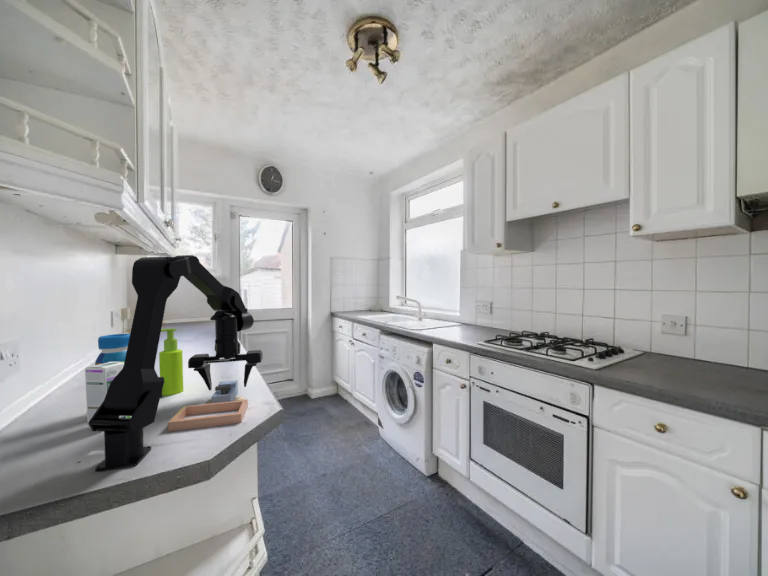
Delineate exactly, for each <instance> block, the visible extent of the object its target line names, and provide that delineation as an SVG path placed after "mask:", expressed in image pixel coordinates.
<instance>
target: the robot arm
mask: <svg viewBox="0 0 768 576" xmlns="http://www.w3.org/2000/svg"><path fill="white" fill-rule="evenodd" d="M181 277H183V278H185V279H186V280H187V281H188V282H189V283H190V284H191V285H193V286H194V287H195V288H197V290H199V291H200V292H201V293H202V294H203V295H204V296H205V297H206V303H207V304H208V305H209V307H210V308H211V309H212V311H215V313H214V314H213V315H212V316H211V317H210V319H209V320H210V321H214V327H215V328H214V332H215V340H214V351H215V355H214V356H212V355H211V356H210V355H209V354H210V353H196V354H193V355H192V356H191V357H190V358H188V362H187V367H188V369H193V372H197V373H198V374H199V375H200V377H201V378H202V380H203V381H204V383H205V385H206V387H207V389H208V391H212V386H213V383H212V375H211V364H217V363H231V362H241V361H242V362H243V361H244V362H245V363H246V364H244V373H243V376H244V377H243V387H244V388H246V387H247V384H248V381H249V377H250V375H251V372H252V369H253V367H257V365H258V364H260V363H262V360H263V359H264V358H263V355H264V354H263V351H262V350H261V349H257V350H256V349H255V350H253V349H252V350H248V351H246V353H241V342H239V339H238V338H239V337H238V336H239V335H238V333H239V332H242V331H246V330H248V329H251V328H252V327H253V325H254V321H255V320H254V317H253V315H252V314H251V313H250V312H248V308H246V305H245V303H244V301H243V299H242V297H241V295H240V293H239V292H238V291H237V290H235V289H234V288H232V287H229V286H228V285H227V286H226V285H224V284H222V283H221V282H220V281H219V280H218V279H217V278H216V277H215V276H214V275H213V274H212V273H211V272H210V271H209V270H208V269H207V268H206V267H205V266H204V265H203V264H201V262H200V259H199V258H198V256H196V255H193V254H189V255H187V254H185V255H184V254H183V255H181V254H180V255H175V256H148V257H147V256H146V257H140V258H139V259H135V261H134V263H133V265H132V270H131V285H132V287H133V288H134V291H135V293H136V295H137V300H136V303H135V309H134V314H133V319H132V324H131V329H130V333H129V334H130V338H129V342H128V347H127V352H126V357H125V362H124V366H123V369H122V370H121V371H120V372H119V373H118V374H117V376H116V377H115V378H114V379H113V380H112V381H111V383H110V385H109V388H108V391H107V394H106V396H105V399H104V401H103V402H102V404H101V405H100V407H99V408H98V410H97V411H96V412H95V414H94V415H93V417H92V418H91V419H90V421H89V423H88V422H87V425H88V424H89V426H90V428H91V429H90V430H91V431H92V432H103V437H104V439H103V441H104V445H103V446H104V458H103V460H102V461H101V462H100V463H98V464H97V466H96V467H95V468H94V471H96V472H97V471H106V470H112V469H120V468H126V467H134V466H137V465H139V463H140V462H141V461H143V459H144V458H145V457H146V456H147V455H148V453H149V452H150V451H151V450H152V446H151V445H149V446H145V444H144V428H146V427H147V426H150V425H152V424H154V423H155V420H156V417H157V411H158V407H159V403H160V400H161V399H163V396H162V388H163V385H164V377H160V376H158V373H157V371H156V369H155V364H156V359H157V355H158V351H159V350H158V348H159V344H160V337H161V333H162V332H161V329H163V328H162V327H163V321H164V315H165V309H166V305H167V301H168V298H169V297H170V296H171V295H172V294H173V293H174V292H175V290H177V288H178V286H179V283H180V280H181ZM119 416H131V418H119Z"/></svg>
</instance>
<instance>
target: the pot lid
mask: <svg viewBox="0 0 768 576" xmlns="http://www.w3.org/2000/svg"><path fill="white" fill-rule="evenodd" d="M230 388H231V385H225V386H218V385H217V386H215V387H214V392H216V391H218V390H222V395H224V394H227V390H229V389H230ZM239 400H246V399H245V397H244V396H241V395H237V396H236V398H235V400H234V401H239ZM210 403H212V399H210V400H208V401H207V402H205V403H204V404H210Z"/></svg>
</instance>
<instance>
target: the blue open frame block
mask: <svg viewBox="0 0 768 576" xmlns="http://www.w3.org/2000/svg"><path fill="white" fill-rule="evenodd" d="M238 382H239V381H238V380H236V379H235V380H225V381H219V383H218V384H217V386H225V385H231V388H230V389H229V390H227V394H224V395H222V390H218V391H214V393H213V394H212V395H211V400H212V403H220V402H229V401H234V400H235V398H236V396H239V386H238V385H239V383H238Z"/></svg>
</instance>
